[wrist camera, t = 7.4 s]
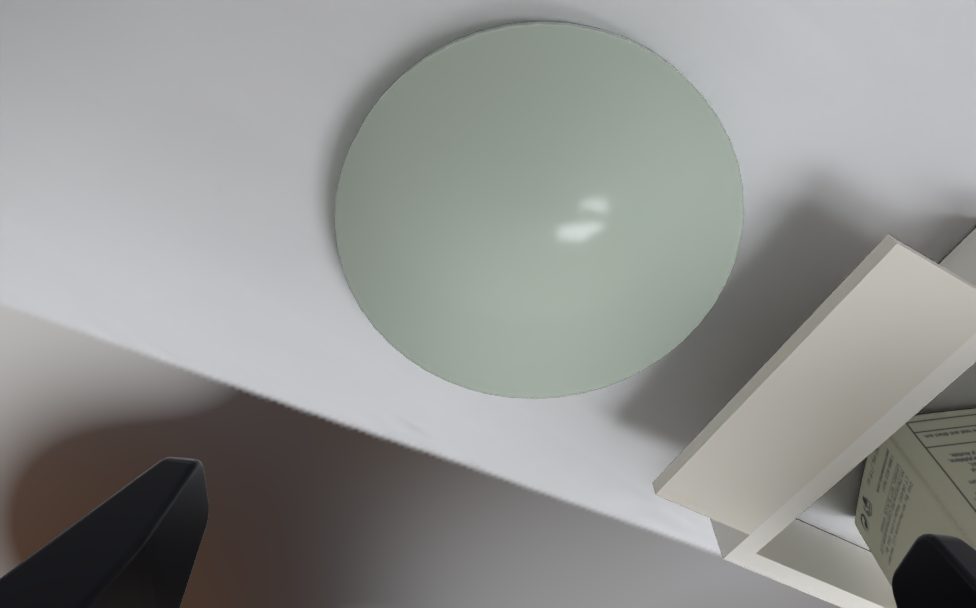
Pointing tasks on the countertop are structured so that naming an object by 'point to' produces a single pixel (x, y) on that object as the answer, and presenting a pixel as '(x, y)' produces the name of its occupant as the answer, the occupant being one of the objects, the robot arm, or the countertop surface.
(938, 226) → the countertop surface
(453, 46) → the coaster
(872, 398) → the white rectangular tray
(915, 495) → the skincare box
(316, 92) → the countertop surface
